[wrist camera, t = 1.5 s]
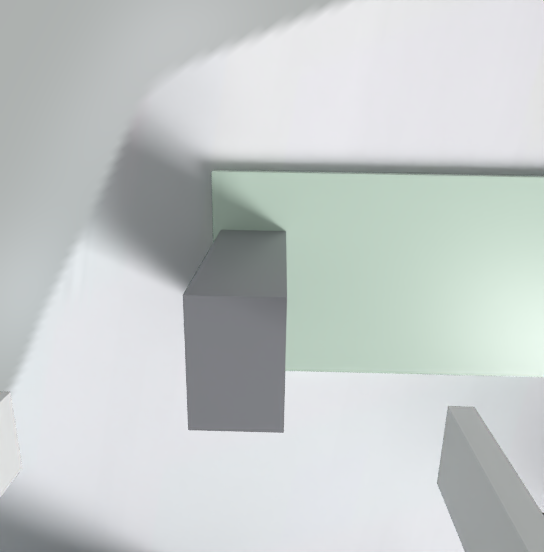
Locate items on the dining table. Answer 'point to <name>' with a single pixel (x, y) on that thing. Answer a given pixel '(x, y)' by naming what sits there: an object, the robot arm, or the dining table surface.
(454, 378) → the dining table surface
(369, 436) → the dining table surface
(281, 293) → the green platform with post
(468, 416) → the robot arm
